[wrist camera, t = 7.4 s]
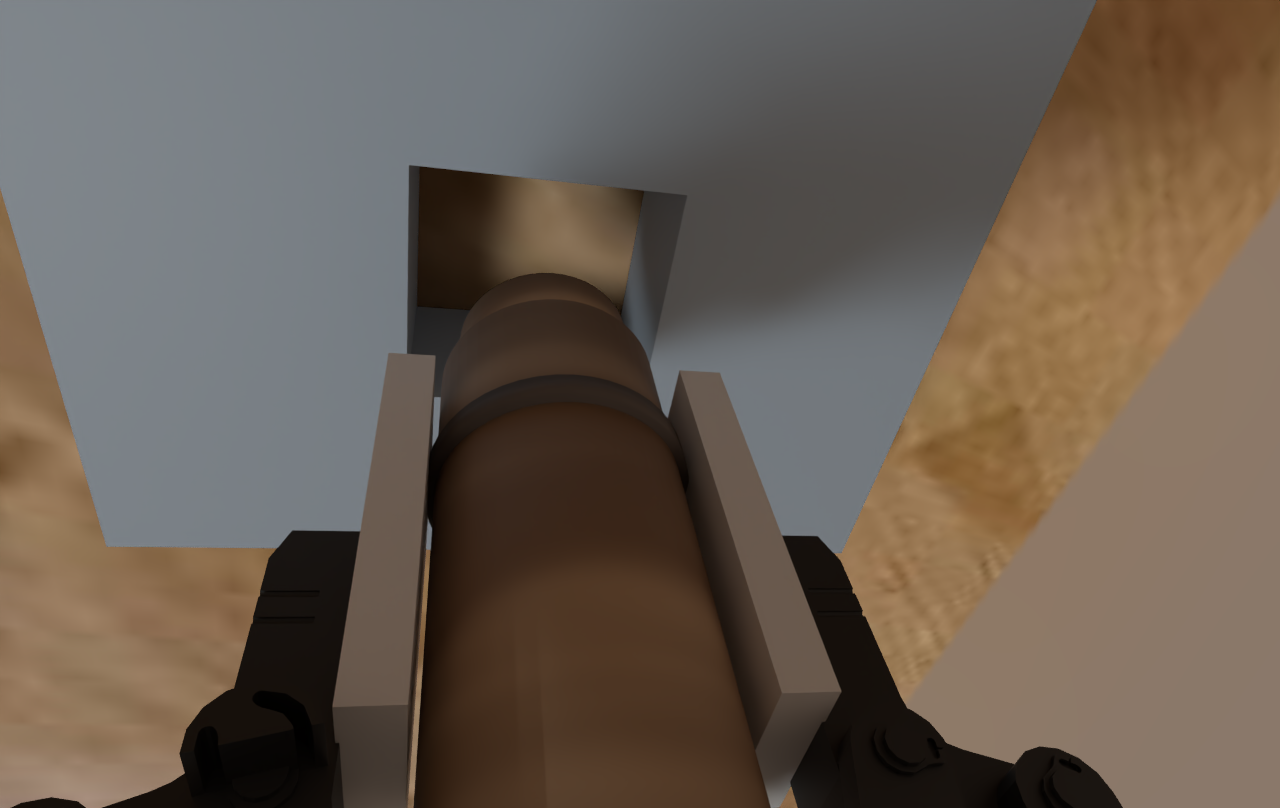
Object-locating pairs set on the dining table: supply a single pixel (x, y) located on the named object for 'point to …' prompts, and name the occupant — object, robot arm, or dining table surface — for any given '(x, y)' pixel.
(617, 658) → the peg
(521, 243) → the dining table surface
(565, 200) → the dining table surface
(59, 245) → the seat board
